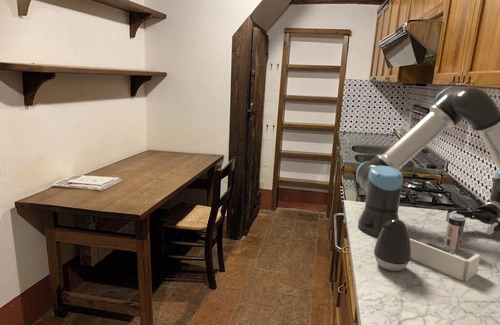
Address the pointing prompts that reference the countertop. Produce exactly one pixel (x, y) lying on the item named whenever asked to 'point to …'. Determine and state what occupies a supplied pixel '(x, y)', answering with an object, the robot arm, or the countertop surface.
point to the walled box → (444, 260)
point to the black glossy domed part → (393, 246)
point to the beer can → (454, 232)
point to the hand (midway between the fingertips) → (467, 224)
